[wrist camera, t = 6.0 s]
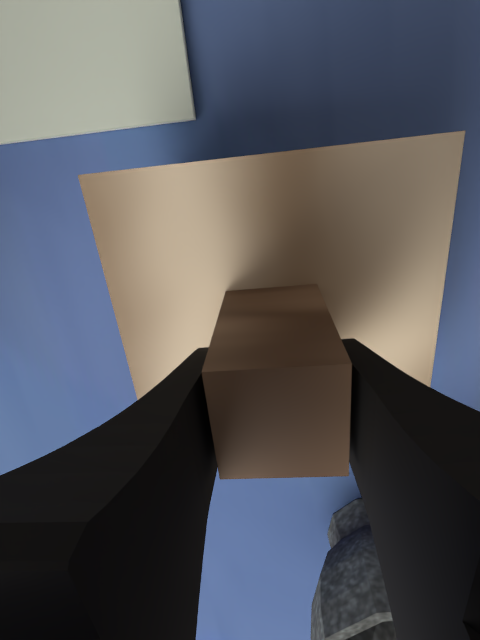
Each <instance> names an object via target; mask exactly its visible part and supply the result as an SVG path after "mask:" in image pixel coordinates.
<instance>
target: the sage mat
mask: <svg viewBox="0 0 480 640" xmlns="http://www.w3.org/2000/svg"><path fill="white" fill-rule="evenodd" d="M192 120H196V116H195V108H194V101H193V93H192V86H191V78H190V71H189V63H188V56H187V48H186V41H185V33H184V26H183V18H182V11H181V4H180V0H0V145H2V144H10V143H18V142H26V141H34V140H42V139H50V138H57V137H65V136H73V135H81V134H89V133H97V132H105V131H113V130H121V129H128V128H136V127H144V126H152V125H160V124H168V123H176V122H184V121H192Z"/></svg>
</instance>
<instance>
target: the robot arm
mask: <svg viewBox="0 0 480 640" xmlns="http://www.w3.org/2000/svg"><path fill="white" fill-rule="evenodd" d="M341 340H342V342H343V345H344V347H345V349H346V351H347V354H348V356H349V358H350V360H351V363H352V379H351V413H350V447H349V462H350V465H351V468H352V471H353V473H354V476H355V479H356V482H357V485H358V488H359V490H360V493H361V496H362V499H363V502H364V505H365V509H366V512H367V515H368V518H369V522H370V526H371V530H372V535H373V539H374V543H375V547H376V551H377V555H378V559H379V563H380V567H381V572H382V576H383V580H384V584H385V589H386V593H387V597H388V602H389V606H390V610H391V615H392V619H393V624H394V628H395V633H396V637H397V640H480V412H479V411H477V410H474V409H472V408H470V407H468V406H466V405H464V404H462V403H460V402H458V401H456V400H453V399H451V398H449V397H447V396H445V395H443V394H441V393H439V392H438V391H436V390H434V389H432V388H430V387H428V386H427V385H425V384H423V383H422V382H420V381H418V380H416V379H415V378H413V377H411V376H410V375H408V374H406V373H405V372H403V371H402V370H400V369H398V368H397V367H395V366H394V365H392V364H391V363H389V362H388V361H386V360H385V359H383V358H382V357H381V356H379V355H378V354H376V353H375V352H373V351H372V350H371V349H369V348H368V347H366V346H365V345H363V344H362V343H361V342H359V341H357V340H356V339H354V338H349V339H341ZM208 348H209V347H204V348H198V349H196V350H195V351H194V352H193V353H192V354H191V355H190V356H188V357H187V358H186V359H185V360H184V361H183V362H182V363H181V364H180V365H179V366H178V367H177V368H175V369H174V370H173V371H172V372H171V373H170V374H169V375H168V376H167V377H166V378H164V379H163V380H162V381H161V382H160V383H158V384H157V385H156V386H155V387H154V388H152V389H151V390H150V391H149V392H147V393H146V394H145V395H144V396H142V397H141V398H140V399H139V400H137V401H136V402H135V403H133V404H132V405H131V406H129V407H128V408H126V409H125V410H124V411H122V412H121V413H119V414H118V415H116V416H115V417H113V418H111V419H110V420H108V421H107V422H105V423H104V424H102V425H100V426H99V427H97V428H95V429H93V430H92V431H90V432H88V433H86V434H85V435H83V436H81V437H79V438H77V439H76V440H74V441H72V442H70V443H69V444H67V445H65V446H63V447H61V448H59V449H57V450H55V451H53V452H51V453H49V454H47V455H45V456H43V457H41V458H39V459H36V460H34V461H32V462H30V463H28V464H26V465H23V466H21V467H19V468H17V469H14V470H12V471H10V472H7V473H5V474H3V475H0V640H195V639H196V627H197V615H198V604H199V593H200V583H201V573H202V562H203V553H204V544H205V535H206V525H207V518H208V512H209V506H210V501H211V496H212V491H213V486H214V482H215V477H216V472H217V467H218V465H217V460H216V454H215V448H214V442H213V436H212V431H211V425H210V419H209V413H208V407H207V401H206V396H205V390H204V384H203V378H202V369H203V365H204V362H205V359H206V355H207V352H208Z"/></svg>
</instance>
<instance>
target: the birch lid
mask: <svg viewBox="0 0 480 640" xmlns="http://www.w3.org/2000/svg"><path fill="white" fill-rule="evenodd" d="M464 137H465V131H457V132H448V133H440V134H431V135H422V136H414V137H405V138H396V139H388V140H379V141H370V142H362V143H353V144H344V145H335V146H327V147H318V148H309V149H301V150H292V151H283V152H275V153H266V154H257V155H249V156H240V157H231V158H222V159H214V160H205V161H196V162H188V163H179V164H170V165H162V166H153V167H144V168H136V169H127V170H118V171H109V172H101V173H92V174H83V175H78V178H79V181H80V185H81V189H82V193H83V196H84V200H85V204H86V208H87V211H88V215H89V219H90V223H91V226H92V230H93V234H94V238H95V241H96V245H97V249H98V253H99V256H100V260H101V264H102V268H103V271H104V275H105V279H106V283H107V286H108V290H109V294H110V297H111V301H112V305H113V309H114V312H115V316H116V320H117V324H118V327H119V331H120V335H121V339H122V342H123V346H124V350H125V354H126V357H127V361H128V365H129V369H130V372H131V376H132V380H133V384H134V387H135V391H136V395H137V399H138V400H139V399H140V398H141V397H142V396H144V395H145V394H146V393H147V392H149V391H150V390H151V389H152V388H154V387H155V386H156V385H157V384H158V383H160V382H161V381H162V380H163V379H164V378H166V377H167V376H168V375H169V374H170V373H171V372H172V371H173V370H174V369H175V368H177V367H178V366H179V365H180V364H181V363H182V362H183V361H184V360H185V359H186V358H187V357H188V356H190V355H191V354H192V353H193V352H194V351H195V350H196V349H198V348H204V347H209V348H208V352H207V355H206V359H205V362H204V365H203V369H202V378H203V384H204V390H205V396H206V401H207V407H208V413H209V419H210V425H211V431H212V436H213V442H214V448H215V454H216V460H217V465H218V471H219V477H220V479H250V478H291V477H332V476H349V447H350V413H351V379H352V363H351V360H350V358H349V356H348V354H347V351H346V349H345V347H344V345H343V342H342V340H341V339H349V338H354V339H356V340H357V341H359V342H361V343H362V344H363V345H365V346H366V347H368V348H369V349H371V350H372V351H373V352H375V353H376V354H378V355H379V356H381V357H382V358H383V359H385V360H386V361H388V362H389V363H391V364H392V365H394V366H395V367H397V368H398V369H400V370H402V371H403V372H405V373H406V374H408V375H410V376H411V377H413V378H415V379H416V380H418V381H420V382H422V383H423V384H425V385H427V386H428V387H430V384H431V377H432V370H433V362H434V355H435V348H436V341H437V333H438V326H439V319H440V311H441V304H442V297H443V290H444V282H445V275H446V268H447V261H448V253H449V246H450V239H451V231H452V224H453V217H454V210H455V202H456V195H457V188H458V180H459V173H460V166H461V159H462V151H463V144H464Z"/></svg>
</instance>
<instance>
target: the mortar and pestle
mask: <svg viewBox="0 0 480 640" xmlns="http://www.w3.org/2000/svg"><path fill="white" fill-rule="evenodd" d="M328 538H329V543H330V546H331V549H330V550H329V551H328V553H327V556H326V559H325V562H324V565H323V568H322V571H321V574H320V577H319V581H318V584H317V588H316V592H315V595H314V599H313V602H312V612H311V640H397V637H396V633H395V628H394V624H393V619H392V615H391V610H390V606H389V602H388V597H387V593H386V589H385V584H384V580H383V576H382V572H381V567H380V563H379V559H378V555H377V551H376V547H375V543H374V539H373V535H372V530H371V526H370V522H369V518H368V515H367V512H366V509H365V505H364V502H363V499H356V500H354V501H353V502H351V503H349V504H348V505H346V506H345V507H343V508H342V509H340V510H339V511H337V512H336V513H334V514H333V516H332V519H331V523H330V527H329V530H328Z"/></svg>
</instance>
